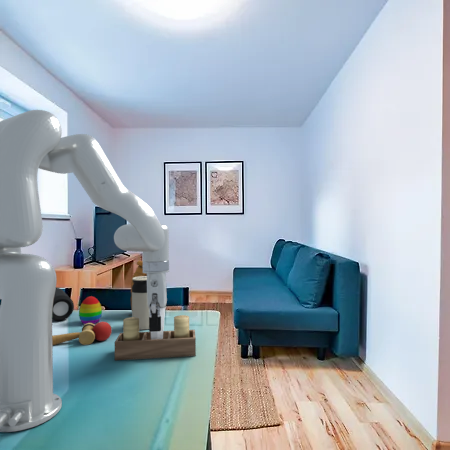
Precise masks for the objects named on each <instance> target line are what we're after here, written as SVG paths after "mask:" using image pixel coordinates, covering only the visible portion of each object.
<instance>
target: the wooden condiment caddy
mask: <svg viewBox="0 0 450 450" xmlns="http://www.w3.org/2000/svg"><path fill="white" fill-rule="evenodd" d="M122 323H123V325H122V326H123V328H122V329H123V330H122V331H123V332H119V334H118V336H117V338H116V339H115V341H114V361H128V360H146V359H148V360H149V359H165V358H182V357H196V356H197V355H196V354H197V353H196V351H197V348H196V342H197V341H196V330H195V329H190V316H188V315H186V314H185V315H183V314H182V315H176V316H174V317H173V330H163V339H151V332H150V331H140V330H139V318H136V317H132V316H131V317H126V318H124V319H123V321H122Z"/></svg>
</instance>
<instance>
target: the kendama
mask: <svg viewBox="0 0 450 450" xmlns="http://www.w3.org/2000/svg"><path fill="white" fill-rule="evenodd" d="M111 335H112V326H111V324H110V323H108V322H106V321H99V322H97V323H95V324H92V323H87V324H83V326H82V327H81V331H78V332H77V331H76V332H69V333H61V334H57V335H54V334H52V346H55V345H59V344H63V343H67V342H70V341H74V340H77V339H78V342H79V344H80V345H83V346H85V345H87V346H89V345H91V344H93V342H94V341H95V340H96V341H99V342H104V341H106V340H107V339H109V338H110V337H111Z"/></svg>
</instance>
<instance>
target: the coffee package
mask: <svg viewBox="0 0 450 450" xmlns="http://www.w3.org/2000/svg"><path fill="white" fill-rule="evenodd" d="M136 265H138V266H137V268H136V270H135V271H134V273H133V275H132V276H131V279H130V280H131V282H130V283H131V284H130V285H131V286H130V307H131V308H130V309H132V286H133V284H134V282H133V278H134V277H139V276H147V274H146V273H143V260H138V261H137V262H136Z"/></svg>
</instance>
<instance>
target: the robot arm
mask: <svg viewBox="0 0 450 450" xmlns="http://www.w3.org/2000/svg"><path fill="white" fill-rule="evenodd" d="M62 133H63V132H62V125H61V122H60V120H59V119H58V118H57V116H55V114H53V113H52V112H49V111H46V110H43V109H32V110H31V109H30V110H27V111H25V112H22V113H19V114H16V115H14V116H11V117H9V118H6V119H3V120H1V121H0V300H1V302H0V433H11V432H12V433H13V432H19V431H24V430H25V431H26V430H28V429H31V428H34V427H38V426H39V425H42V424H43V423H46V422H48V421H49V420H51V419H52V418H54V417H55V416H56V415H57V414H58V413H59V411H60V410H61V408H62V404H63V403H62V401H63V400H62V397H60V396H59V395H58V394H56V393H54V369H53V366H54V364H53V358H54V357H53V356H54V355H53V354H54V353H53V351H54V350H53V346H54V345H52V336H53V319H52V308H53V300H54V295H55V289H56V288H57V273H56V270H55V268H54V266H53V264H52V263H51V262H50V261H49V260H47V258H44V257H42V256H40V255H35V254H33V253H32V254H31V253H22V248H27V247H30V246H32V245H34V244H35V243H36V242H38V241H39V240H40V238H41V236H42V234H43V227H44V226H43V225H44V224H43V217H42V211H41V210H42V209H41V204H40V203H41V202H40V196H39V187H38V171H39V170H43V171H46V172H50V173H55V174H62V175H63V174H72V173H73V175H74V176H75V178H76V180H77V181H78V182H79V184H80V185H81V187H82V188H83V190H84V191H85V193H86V195H87V196H88V197H89V198H90V200H91V202H92V203H93V204H94V205H95V206H97V207H99V208H101V209H103V210H105V211H107V212H109V213H112V214H115V215H116V216H117V215H118V216H119V217H121V218H122V219H124V220H125V221H127V222H128V223H127V224H123V225H121V226H119V227H118V228H117V229H116V230H115V231H114V234H113V241H114V244H115V246H116V247H117V248H118V249H120V250H122V251H125V252H134V253H135V252H136V253H137V252H139V253H140V252H141V253H142V261H143V273H146V274H147V304H148V308H149V309H150V317H149V329H148V332H155V331H161V316H160V307H163V308H165V309H166V306H167V301H168V298H167V295H168V294H167V291H168V290H167V273H169V272H170V245H169V244H170V240H169V238H170V235H169V234H170V232H169V227H168V226H167V225H166V224H161V222H160V220H159V218H158V217H157V215H156V213H155V211H154V210H153V209H152V208H151V206H150V205H148V203H147V202H146V201H144V199H143V200H142V199H141V198H140V197H139V196H138V195H137V194H135V193H134V192H132V191H131V190H130V189H128V188H127V187H126V186H125V185H124V183H123V182H122V180H121V178H120V177H119V176H118V174H117V172H116V170H115V169H114V167H113V165H112V163H111V162H110V160H109V158H108V157H107V155H106V153H105V151H104V149H103V148H102V146H101V144H100V143H99V141H97V139H96V138H95V137H94V136H92V135H90V134H87V133H75V134H72V135H66V136H63V137H62ZM156 305H159V306H156Z"/></svg>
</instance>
